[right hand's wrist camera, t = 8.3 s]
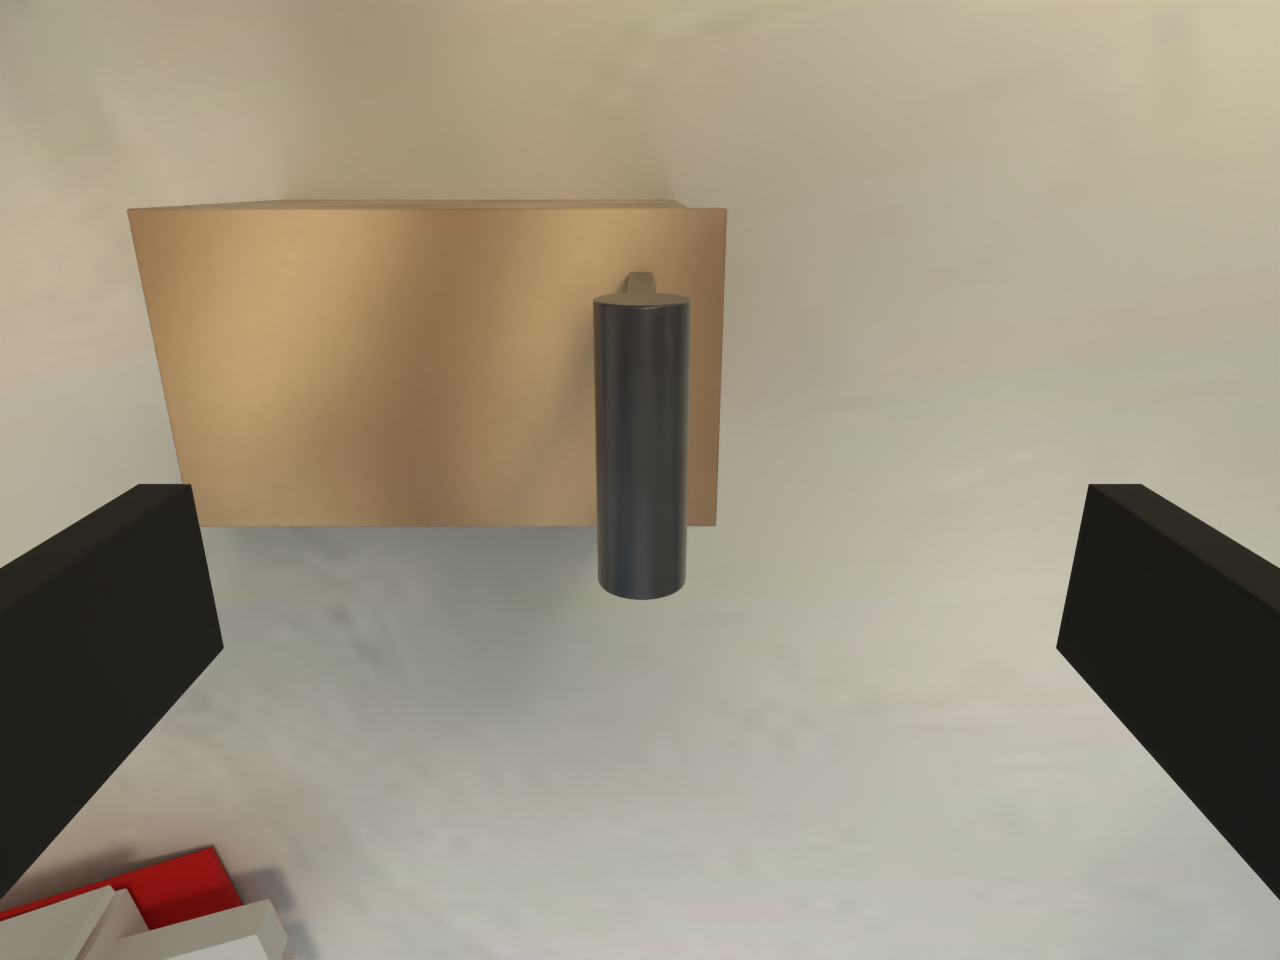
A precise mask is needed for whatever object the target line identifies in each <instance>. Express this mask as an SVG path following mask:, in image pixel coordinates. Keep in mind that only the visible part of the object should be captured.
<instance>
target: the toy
mask: <svg viewBox="0 0 1280 960" xmlns="http://www.w3.org/2000/svg"><path fill="white" fill-rule="evenodd" d="M287 941H288V936H287V934H286V932H285V930H284V928H283V926H282V923H281V921H280V919H279V917H278V915H277V913H276V911H275V909H274V907H273V904H272V902H271V900H270V898H269V899H265V900H261V901H258V902H254V903H250V904H247V905H243V904H242V902H241V901H240V899H239V897H238V895H237V893H236V891H235V889H234V887H233V885H232V883H231V882H230V880H229V878H228V876H227V874H226V872H225V870H224V868H223V866H222V864H221V863H220V861H219V859H218V857H217V855H216V853H215V851H214V849H213V847H211V848H207V849H204V850H201V851H198V852H194V853H191V854H188V855H185V856H181V857H178V858H175V859H172V860H168V861H165V862H162V863H159V864H155V865H152V866H149V867H146V868H142V869H139V870H136V871H133V872H129V873H126V874H123V875H120V876H116V877H113V878H110V879H107V880H103V881H100V882H97V883H94V884H90V885H87V886H84V887H81V888H77V889H74V890H71V891H68V892H64V893H61V894H58V895H55V896H51V897H48V898H45V899H41V900H38V901H35V902H32V903H28V904H25V905H22V906H19V907H15V908H12V909H9V910H6V911H2V912H0V960H299V959H298V957H297V955H296V953H291V954H287V955H284V956H283V954H284V951H285V948H286V945H287Z"/></svg>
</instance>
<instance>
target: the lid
mask: <svg viewBox="0 0 1280 960" xmlns="http://www.w3.org/2000/svg"><path fill="white" fill-rule="evenodd" d="M127 212H128V217H129V222H130V227H131V232H132V237H133V242H134V247H135V252H136V257H137V262H138V266H139V271H140V276H141V281H142V286H143V291H144V296H145V301H146V306H147V311H148V316H149V320H150V325H151V330H152V335H153V340H154V345H155V350H156V355H157V360H158V365H159V369H160V374H161V379H162V384H163V389H164V394H165V399H166V404H167V409H168V414H169V419H170V423H171V428H172V433H173V438H174V443H175V448H176V453H177V458H178V463H179V468H180V472H181V477H182V482H183V484H191V486H192V491H193V496H194V501H195V506H196V511H197V516H198V521H199V526H200V527H226V526H597V545H598V581H599V583H600V585H601V587H602V588H603V589H604V590H606V591H607V592H609V593H611V594H613V595H615V596H619V597H622V598H627V599H636V600H648V599H657V598H662V597H665V596H668V595H671V594H673V593H675V592H677V591H678V590H680V589H681V588H682V587H683V585H684V583H685V580H686V539H687V526H715V525H716V511H717V482H718V453H719V423H720V394H721V365H722V336H723V307H724V278H725V249H726V220H727V210H726V209H724V208H134V209H128V210H127Z"/></svg>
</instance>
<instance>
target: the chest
mask: <svg viewBox="0 0 1280 960" xmlns="http://www.w3.org/2000/svg"><path fill="white" fill-rule="evenodd" d="M152 208H687V207H686V206H684V205H682V204H681V203H679V202H677V201H675V200H272V201H255V202H238V203H221V204H203V205H186V206H169V207H152Z"/></svg>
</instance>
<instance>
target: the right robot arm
mask: <svg viewBox="0 0 1280 960" xmlns="http://www.w3.org/2000/svg"><path fill="white" fill-rule="evenodd" d="M223 648H224V646H223V641H222V636H221V631H220V626H219V621H218V616H217V611H216V606H215V601H214V596H213V591H212V586H211V581H210V576H209V571H208V566H207V561H206V556H205V551H204V546H203V541H202V536H201V531H200V526H199V521H198V516H197V511H196V506H195V501H194V496H193V491H192V486H191V484H138V485H137V486H135V487H133V488H132V489H130V490H128V491H127V492H125V493H123V494H122V495H120V496H118V497H117V498H115V499H114V500H112V501H110V502H109V503H107V504H105V505H104V506H102V507H100V508H99V509H97V510H95V511H94V512H92V513H91V514H89V515H87V516H86V517H84V518H82V519H81V520H79V521H77V522H76V523H74V524H72V525H71V526H69V527H67V528H66V529H64V530H63V531H61V532H59V533H58V534H56V535H54V536H53V537H51V538H49V539H48V540H46V541H44V542H43V543H41V544H40V545H38V546H36V547H35V548H33V549H31V550H30V551H28V552H26V553H25V554H23V555H21V556H20V557H18V558H17V559H15V560H13V561H12V562H10V563H8V564H7V565H5V566H3V567H2V568H0V900H1V899H2V897H3V896H4V895H5V894H6V893H7V892H8V891H9V890H10V888H11V887H12V886H13V885H14V884H15V883H16V882H17V881H18V879H19V878H20V877H21V876H22V875H23V874H24V873H25V872H26V870H27V869H28V868H29V867H30V866H31V865H32V864H33V863H34V861H35V860H36V859H37V858H38V857H39V856H40V855H41V854H42V852H43V851H44V850H45V849H46V848H47V847H48V846H49V845H50V843H51V842H52V841H53V840H54V839H55V838H56V837H57V836H58V834H59V833H60V832H61V831H62V830H63V829H64V828H65V826H66V825H67V824H68V823H69V822H70V821H71V820H72V819H73V817H74V816H75V815H76V814H77V813H78V812H79V811H80V810H81V808H82V807H83V806H84V805H85V804H86V803H87V802H88V801H89V799H90V798H91V797H92V796H93V795H94V794H95V793H96V792H97V790H98V789H99V788H100V787H101V786H102V785H103V784H104V783H105V781H106V780H107V779H108V778H109V777H110V776H111V775H112V774H113V772H114V771H115V770H116V769H117V768H118V767H119V766H120V765H121V763H122V762H123V761H124V760H125V759H126V758H127V757H128V756H129V754H130V753H131V752H132V751H133V750H134V749H135V748H136V747H137V745H138V744H139V743H140V742H141V741H142V740H143V739H144V737H145V736H146V735H147V734H148V733H149V732H150V731H151V730H152V728H153V727H154V726H155V725H156V724H157V723H158V722H159V721H160V719H161V718H162V717H163V716H164V715H165V714H166V713H167V712H168V710H169V709H170V708H171V707H172V706H173V705H174V704H175V703H176V701H177V700H178V699H179V698H180V697H181V696H182V695H183V694H184V692H185V691H186V690H187V689H188V688H189V687H190V686H191V685H192V683H193V682H194V681H195V680H196V679H197V678H198V677H199V676H200V674H201V673H202V672H203V671H204V670H205V669H206V668H207V667H208V665H209V664H210V663H211V662H212V661H213V660H214V659H215V657H216V656H217V655H218V654H219V653H220V652H221V651H222V650H223ZM1056 648H1057V650H1058V651H1059V652H1060V653H1061V654H1062V655H1063V656H1064V657H1065V659H1066V660H1067V661H1068V662H1069V663H1070V664H1071V665H1072V667H1073V668H1074V669H1075V670H1076V671H1077V672H1078V673H1079V674H1080V676H1081V677H1082V678H1083V679H1084V680H1085V681H1086V682H1087V683H1088V685H1089V686H1090V687H1091V688H1092V689H1093V690H1094V691H1095V692H1096V694H1097V695H1098V696H1099V697H1100V698H1101V699H1102V700H1103V701H1104V703H1105V704H1106V705H1107V706H1108V707H1109V708H1110V709H1111V710H1112V712H1113V713H1114V714H1115V715H1116V716H1117V717H1118V718H1119V719H1120V721H1121V722H1122V723H1123V724H1124V725H1125V726H1126V727H1127V728H1128V730H1129V731H1130V732H1131V733H1132V734H1133V735H1134V736H1135V737H1136V739H1137V740H1138V741H1139V742H1140V743H1141V744H1142V745H1143V747H1144V748H1145V749H1146V750H1147V751H1148V752H1149V753H1150V754H1151V756H1152V757H1153V758H1154V759H1155V760H1156V761H1157V762H1158V763H1159V765H1160V766H1161V767H1162V768H1163V769H1164V770H1165V771H1166V772H1167V774H1168V775H1169V776H1170V777H1171V778H1172V779H1173V780H1174V781H1175V783H1176V784H1177V785H1178V786H1179V787H1180V788H1181V789H1182V790H1183V792H1184V793H1185V794H1186V795H1187V796H1188V797H1189V798H1190V799H1191V801H1192V802H1193V803H1194V804H1195V805H1196V806H1197V807H1198V808H1199V810H1200V811H1201V812H1202V813H1203V814H1204V815H1205V816H1206V817H1207V819H1208V820H1209V821H1210V822H1211V823H1212V824H1213V825H1214V826H1215V828H1216V829H1217V830H1218V831H1219V832H1220V833H1221V834H1222V836H1223V837H1224V838H1225V839H1226V840H1227V841H1228V842H1229V843H1230V845H1231V846H1232V847H1233V848H1234V849H1235V850H1236V851H1237V852H1238V854H1239V855H1240V856H1241V857H1242V858H1243V859H1244V860H1245V861H1246V863H1247V864H1248V865H1249V866H1250V867H1251V868H1252V869H1253V870H1254V872H1255V873H1256V874H1257V875H1258V876H1259V877H1260V878H1261V879H1262V881H1263V882H1264V883H1265V884H1266V885H1267V886H1268V887H1269V888H1270V890H1271V891H1272V892H1273V893H1274V894H1275V895H1276V896H1277V897H1278V899H1279V900H1280V568H1278V567H1277V566H1275V565H1273V564H1272V563H1270V562H1268V561H1267V560H1265V559H1263V558H1262V557H1260V556H1259V555H1257V554H1255V553H1254V552H1252V551H1250V550H1249V549H1247V548H1245V547H1244V546H1242V545H1240V544H1239V543H1237V542H1236V541H1234V540H1232V539H1231V538H1229V537H1227V536H1226V535H1224V534H1222V533H1221V532H1219V531H1217V530H1216V529H1214V528H1213V527H1211V526H1209V525H1208V524H1206V523H1204V522H1203V521H1201V520H1199V519H1198V518H1196V517H1194V516H1193V515H1191V514H1189V513H1188V512H1186V511H1185V510H1183V509H1181V508H1180V507H1178V506H1176V505H1175V504H1173V503H1171V502H1170V501H1168V500H1166V499H1165V498H1163V497H1162V496H1160V495H1158V494H1157V493H1155V492H1153V491H1152V490H1150V489H1148V488H1147V487H1145V486H1143V485H1142V484H1089V486H1088V491H1087V496H1086V501H1085V506H1084V511H1083V516H1082V521H1081V526H1080V531H1079V536H1078V541H1077V546H1076V551H1075V556H1074V561H1073V566H1072V571H1071V576H1070V581H1069V586H1068V591H1067V596H1066V601H1065V606H1064V611H1063V616H1062V621H1061V626H1060V631H1059V636H1058V641H1057V646H1056Z"/></svg>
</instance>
